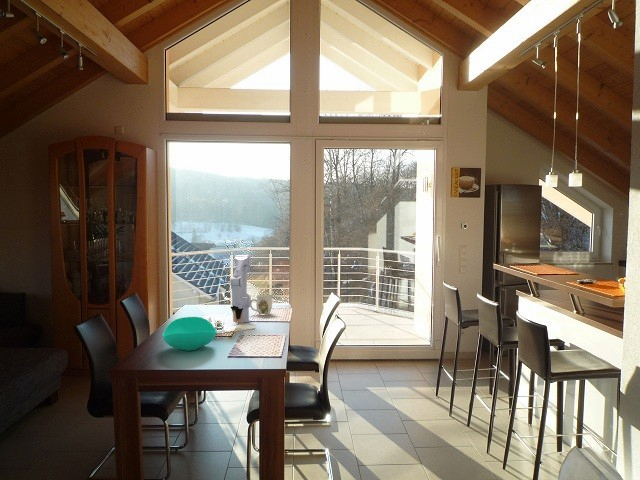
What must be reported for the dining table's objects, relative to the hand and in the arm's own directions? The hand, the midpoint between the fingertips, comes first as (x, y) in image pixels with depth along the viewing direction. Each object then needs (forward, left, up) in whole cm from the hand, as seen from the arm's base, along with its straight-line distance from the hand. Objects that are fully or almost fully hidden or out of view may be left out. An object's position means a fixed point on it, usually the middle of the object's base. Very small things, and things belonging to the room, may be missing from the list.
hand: (237, 318), depth 307 cm
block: (0, 0, -2) cm, 2 cm away
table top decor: (+29, -38, -7) cm, 48 cm away
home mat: (0, 0, -6) cm, 6 cm away
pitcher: (-30, +31, -7) cm, 44 cm away
